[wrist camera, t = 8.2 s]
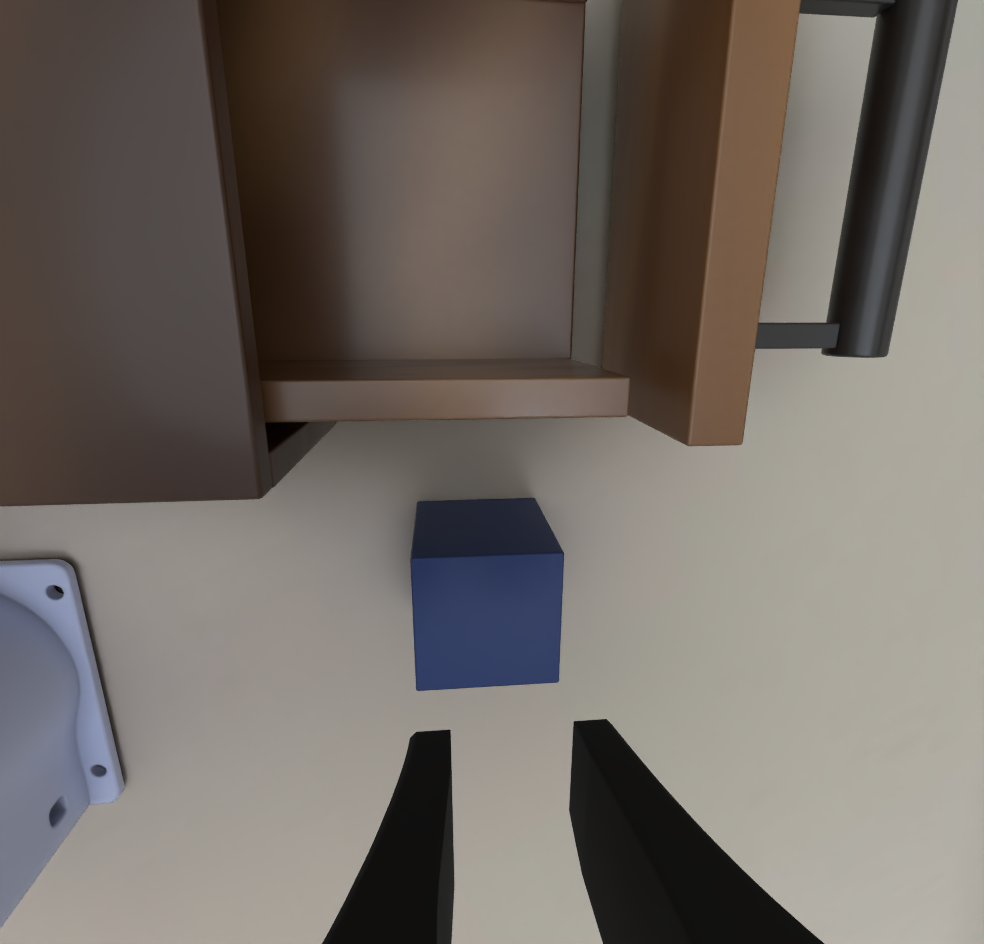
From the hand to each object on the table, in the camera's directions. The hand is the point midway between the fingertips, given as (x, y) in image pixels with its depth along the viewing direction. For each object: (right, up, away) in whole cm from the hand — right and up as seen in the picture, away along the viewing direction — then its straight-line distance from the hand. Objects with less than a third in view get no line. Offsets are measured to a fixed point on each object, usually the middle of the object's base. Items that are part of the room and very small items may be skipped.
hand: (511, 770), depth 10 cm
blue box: (-1, +3, +9) cm, 9 cm away
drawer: (0, +13, +5) cm, 14 cm away
